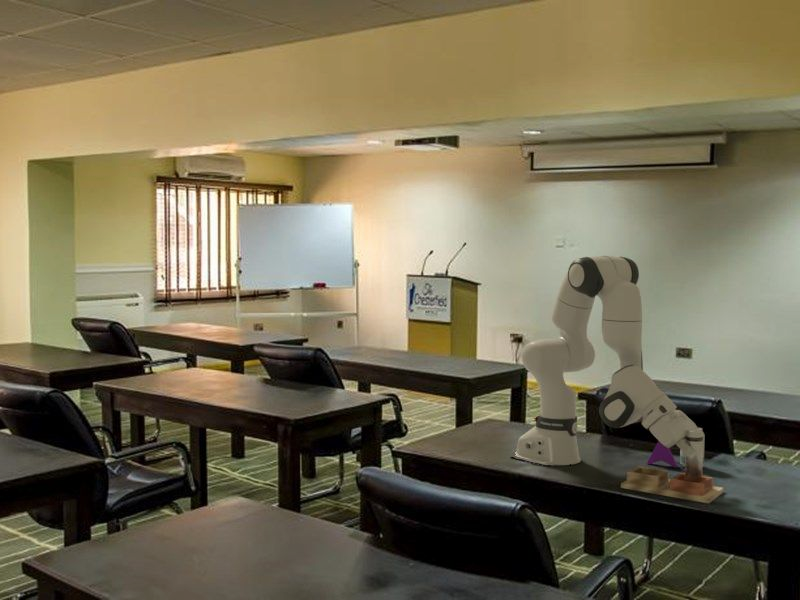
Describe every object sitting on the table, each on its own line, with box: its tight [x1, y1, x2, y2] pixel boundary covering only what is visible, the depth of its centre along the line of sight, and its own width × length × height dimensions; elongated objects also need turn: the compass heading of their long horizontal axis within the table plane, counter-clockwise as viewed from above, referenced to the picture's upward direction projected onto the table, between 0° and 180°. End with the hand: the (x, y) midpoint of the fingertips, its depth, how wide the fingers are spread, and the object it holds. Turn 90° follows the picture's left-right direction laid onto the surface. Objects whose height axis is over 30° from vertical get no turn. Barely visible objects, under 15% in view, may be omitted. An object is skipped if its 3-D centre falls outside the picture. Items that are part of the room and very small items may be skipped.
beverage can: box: [679, 426, 706, 468], centre depth 244 cm, size 7×7×12 cm
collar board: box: [620, 465, 724, 504], centre depth 220 cm, size 24×13×4 cm, turn 52°
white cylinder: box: [684, 430, 704, 477], centre depth 215 cm, size 5×5×12 cm
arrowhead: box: [646, 440, 678, 469], centre depth 246 cm, size 10×2×10 cm
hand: (696, 452), depth 215 cm, fingers closed on white cylinder, 4 cm apart
